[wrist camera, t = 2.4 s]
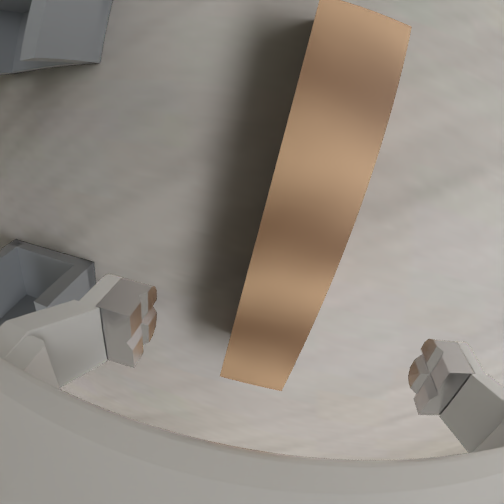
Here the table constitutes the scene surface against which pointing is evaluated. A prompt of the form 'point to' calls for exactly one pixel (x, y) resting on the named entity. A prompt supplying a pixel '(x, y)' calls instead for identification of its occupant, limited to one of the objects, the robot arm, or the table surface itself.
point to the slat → (316, 186)
